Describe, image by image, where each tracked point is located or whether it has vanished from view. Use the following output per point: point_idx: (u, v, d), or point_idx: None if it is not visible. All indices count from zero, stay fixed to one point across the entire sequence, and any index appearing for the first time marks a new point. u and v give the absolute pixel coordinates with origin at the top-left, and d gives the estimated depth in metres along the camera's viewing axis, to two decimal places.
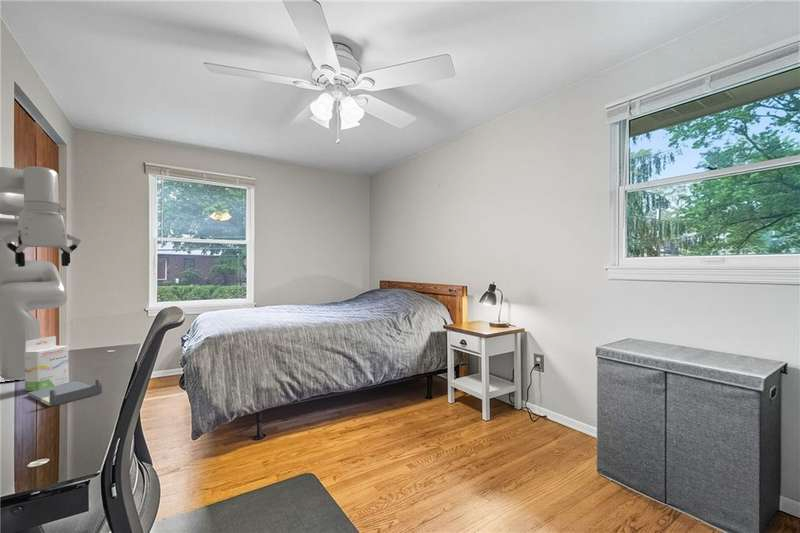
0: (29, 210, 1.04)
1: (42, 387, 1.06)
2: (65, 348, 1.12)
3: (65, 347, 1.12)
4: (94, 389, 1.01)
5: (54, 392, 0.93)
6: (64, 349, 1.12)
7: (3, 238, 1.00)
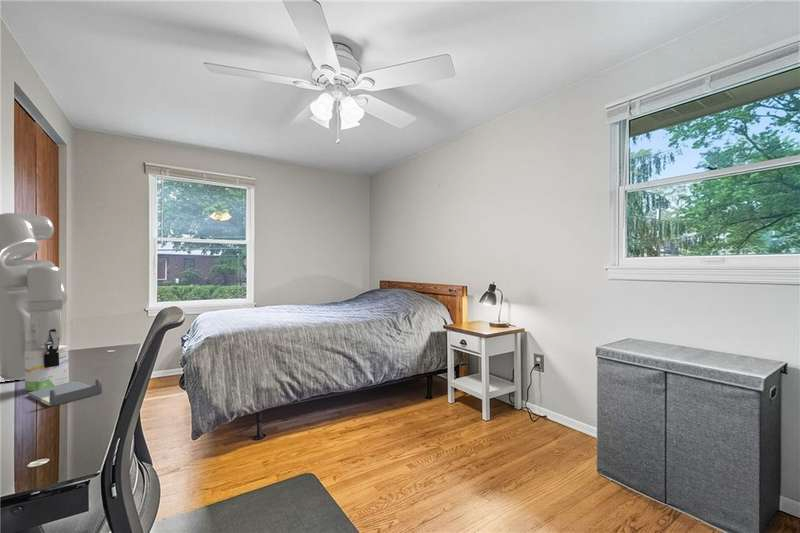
0: (57, 309, 1.09)
1: (42, 387, 1.06)
2: (65, 348, 1.12)
3: (65, 347, 1.12)
4: (94, 389, 1.01)
5: (54, 392, 0.93)
6: (64, 349, 1.12)
7: (58, 342, 1.06)
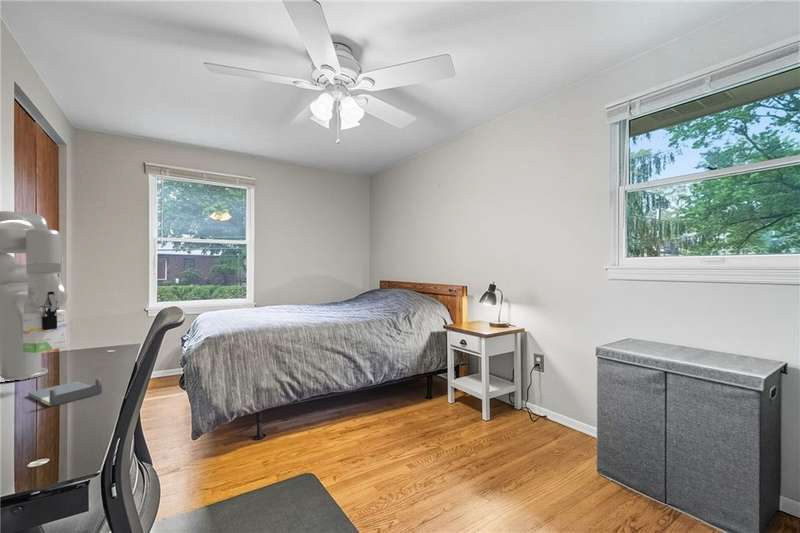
0: (56, 272, 1.09)
1: (40, 350, 1.06)
2: (63, 312, 1.12)
3: (63, 311, 1.12)
4: (94, 389, 1.01)
5: (54, 392, 0.93)
6: (62, 313, 1.12)
7: (56, 305, 1.06)
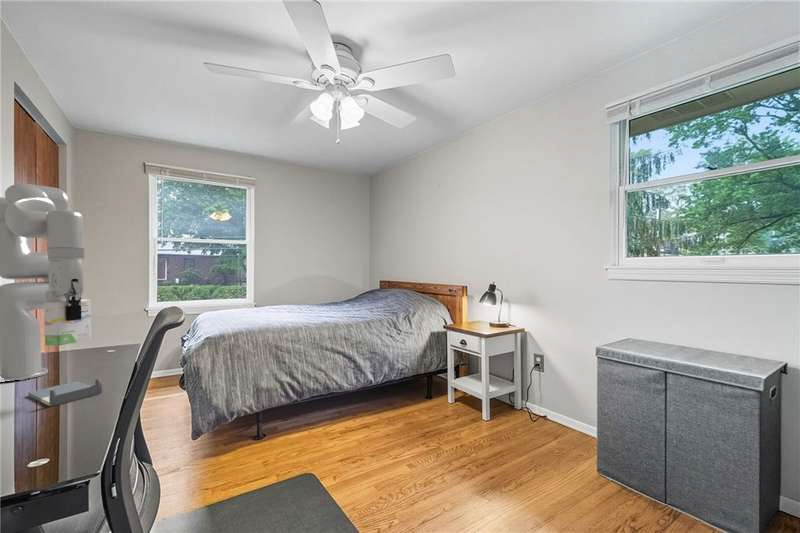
0: (80, 258, 1.00)
1: (64, 342, 0.97)
2: (87, 302, 1.03)
3: (87, 301, 1.03)
4: (94, 389, 1.01)
5: (54, 392, 0.93)
6: (86, 303, 1.02)
7: None
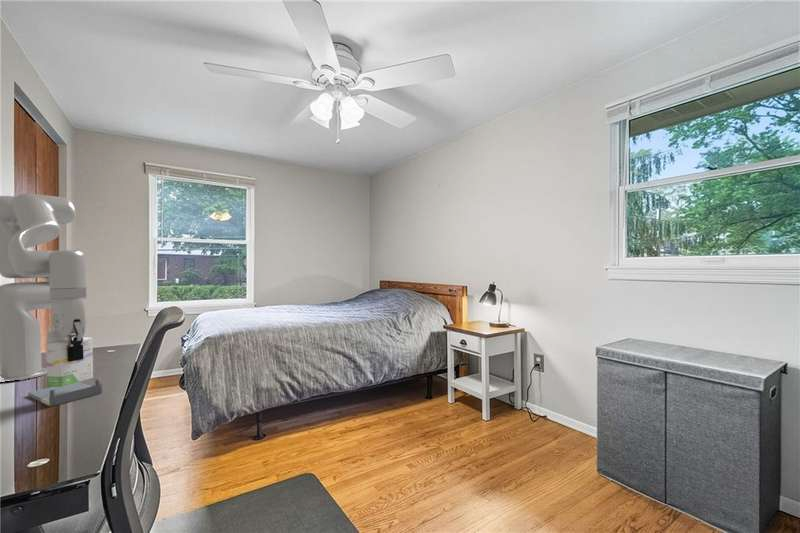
0: (82, 297, 1.00)
1: (66, 383, 0.96)
2: (89, 341, 1.03)
3: (89, 339, 1.02)
4: (94, 389, 1.01)
5: (54, 392, 0.93)
6: (88, 341, 1.02)
7: None
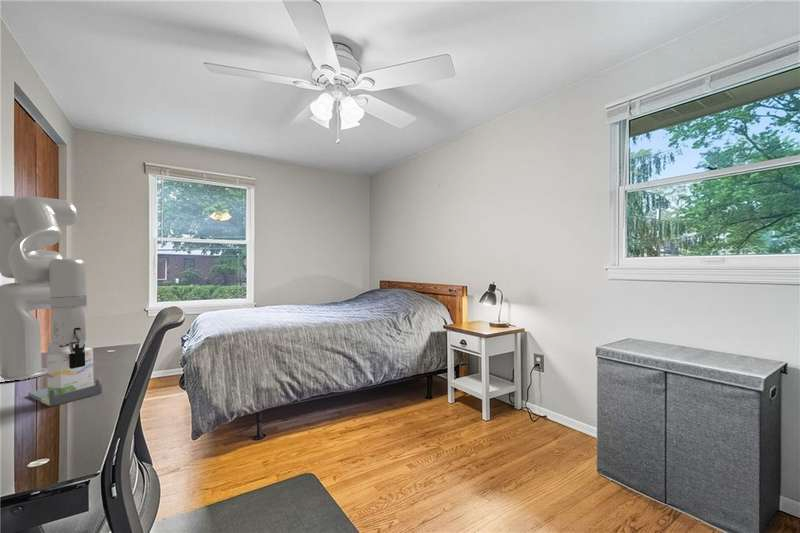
0: (82, 305, 1.00)
1: None
2: (90, 351, 1.03)
3: (90, 350, 1.02)
4: (94, 389, 1.01)
5: (54, 392, 0.93)
6: (89, 352, 1.02)
7: None
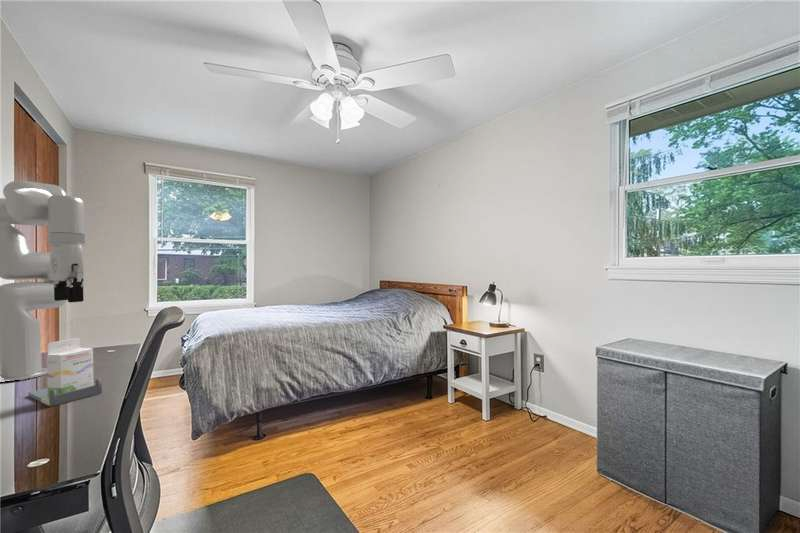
0: (80, 243, 1.00)
1: None
2: (90, 351, 1.03)
3: (90, 350, 1.02)
4: (94, 389, 1.01)
5: (54, 392, 0.93)
6: (89, 352, 1.02)
7: None
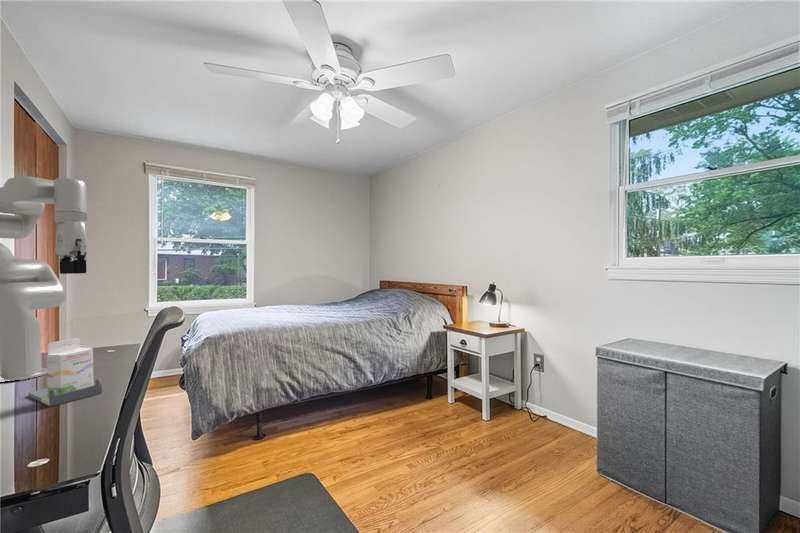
0: (83, 221, 1.12)
1: None
2: (90, 351, 1.03)
3: (90, 350, 1.02)
4: (94, 389, 1.01)
5: (54, 392, 0.93)
6: (89, 352, 1.02)
7: None
